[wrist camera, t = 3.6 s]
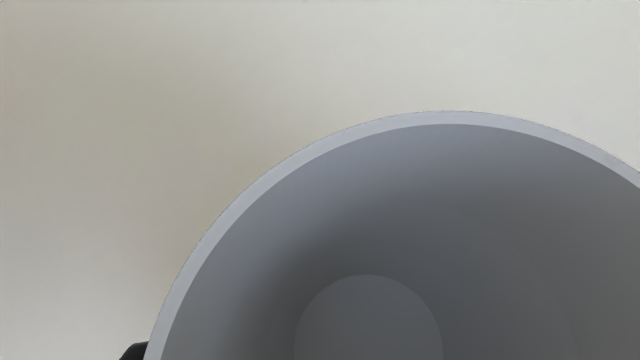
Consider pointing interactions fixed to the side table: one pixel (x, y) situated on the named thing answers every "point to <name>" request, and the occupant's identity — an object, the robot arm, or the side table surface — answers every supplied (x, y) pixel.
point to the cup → (419, 251)
